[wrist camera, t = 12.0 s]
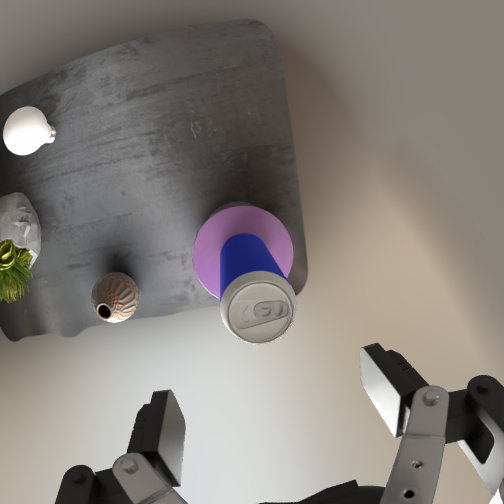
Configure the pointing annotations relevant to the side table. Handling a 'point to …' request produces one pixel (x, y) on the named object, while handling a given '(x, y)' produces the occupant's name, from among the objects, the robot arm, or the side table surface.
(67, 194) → the side table surface
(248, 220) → the jar
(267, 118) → the side table surface
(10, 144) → the light bulb
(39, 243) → the potted plant
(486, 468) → the robot arm
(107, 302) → the vase
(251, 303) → the beverage can
